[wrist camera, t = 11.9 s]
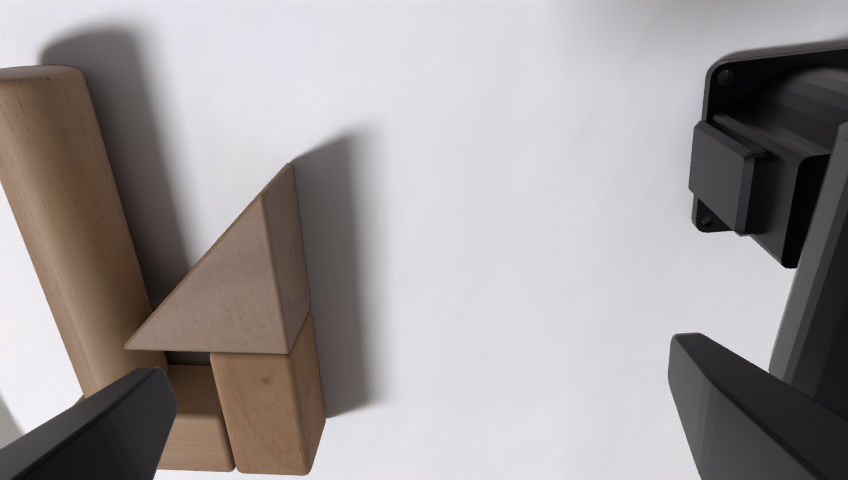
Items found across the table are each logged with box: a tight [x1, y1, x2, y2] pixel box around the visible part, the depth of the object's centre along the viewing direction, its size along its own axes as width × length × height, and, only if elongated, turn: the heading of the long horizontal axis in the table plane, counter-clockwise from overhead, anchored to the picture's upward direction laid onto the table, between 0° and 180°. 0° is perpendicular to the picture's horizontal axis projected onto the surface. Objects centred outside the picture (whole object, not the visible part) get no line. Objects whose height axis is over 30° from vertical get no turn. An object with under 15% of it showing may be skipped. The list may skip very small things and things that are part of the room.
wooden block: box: [0, 65, 326, 476], centre depth 23 cm, size 4×11×18 cm
